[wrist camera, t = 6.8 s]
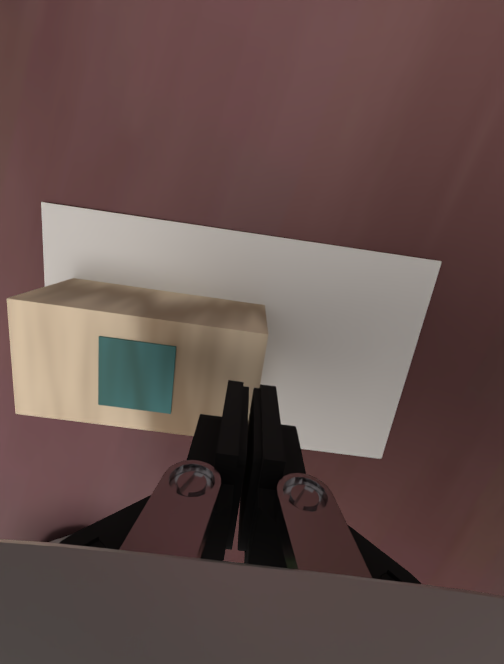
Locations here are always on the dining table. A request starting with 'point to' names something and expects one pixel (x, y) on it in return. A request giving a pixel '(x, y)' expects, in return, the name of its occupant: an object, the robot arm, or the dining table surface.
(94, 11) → the dining table surface
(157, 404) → the maple block
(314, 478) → the robot arm
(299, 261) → the felt mat
